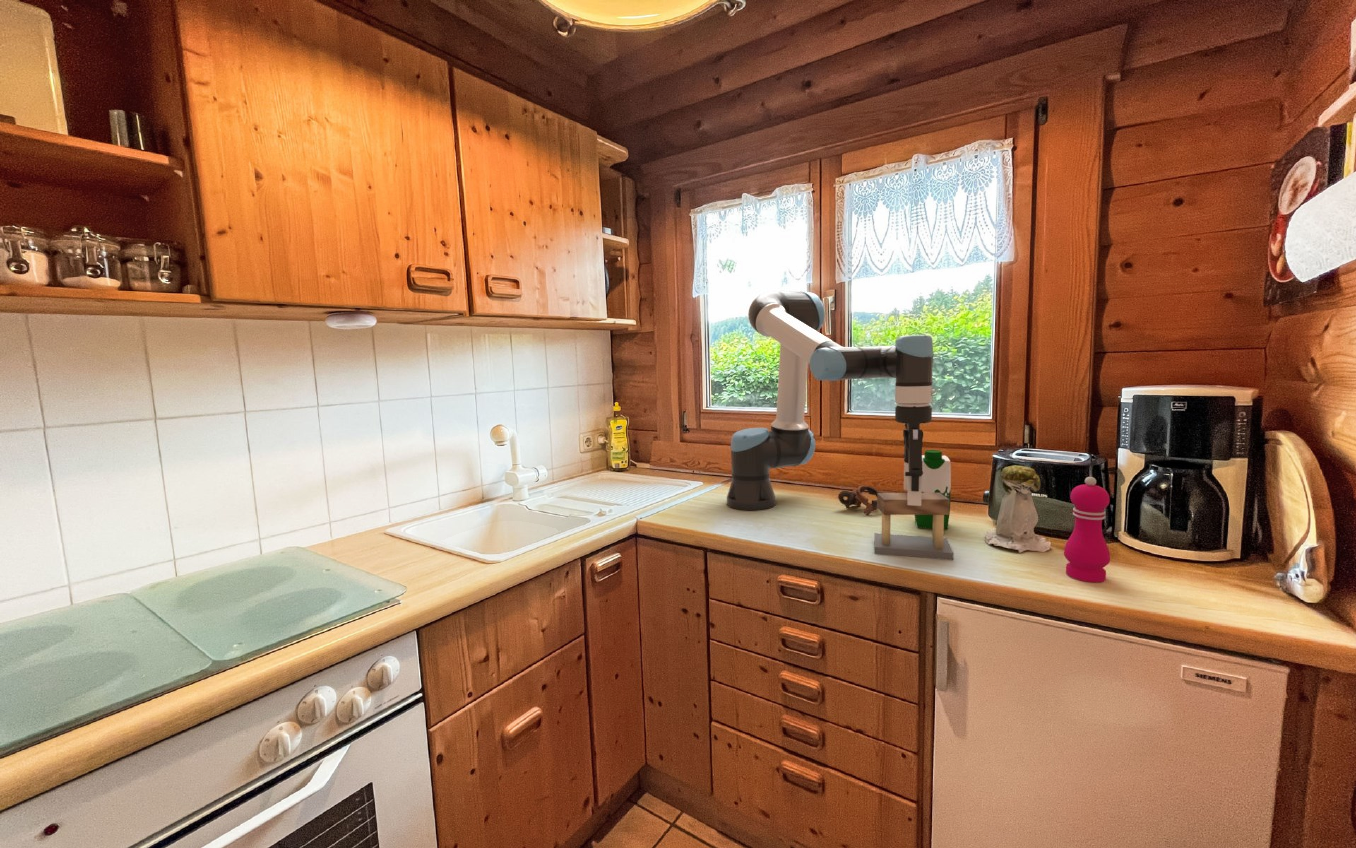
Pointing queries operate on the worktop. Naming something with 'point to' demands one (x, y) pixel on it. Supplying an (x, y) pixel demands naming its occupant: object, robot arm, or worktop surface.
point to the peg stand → (914, 542)
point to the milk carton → (935, 483)
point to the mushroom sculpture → (1018, 512)
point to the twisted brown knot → (859, 498)
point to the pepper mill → (1088, 534)
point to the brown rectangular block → (898, 505)
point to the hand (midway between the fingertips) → (912, 497)
